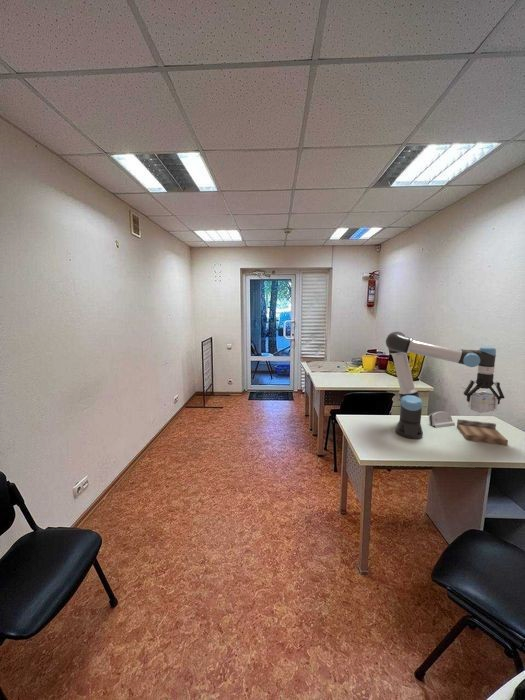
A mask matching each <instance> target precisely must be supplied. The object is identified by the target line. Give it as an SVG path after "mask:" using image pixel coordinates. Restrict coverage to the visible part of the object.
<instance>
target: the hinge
mask: <svg viewBox="0 0 525 700" xmlns="http://www.w3.org/2000/svg"><path fill="white" fill-rule="evenodd" d="M428 421H429V426H432V427H433V426H434V427H435V429H438V428H439V429H440V428H447V427H454V426H456V425H455V422H454V420H453V418H452V414H451V413H450V412H448V411H442V410H441V411H434V412H432V413H430V414H429V415H428Z"/></svg>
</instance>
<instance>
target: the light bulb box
mask: <svg viewBox="0 0 525 700" xmlns="http://www.w3.org/2000/svg"><path fill="white" fill-rule="evenodd" d="M471 397H472V401H471V408H469V409H470V410H471V411H473V412H476V413H479V414H481V413H490V412H495V409H494V406H495V398H496V396H495V395H494V394H493V393H492V392H491V391H485V390H483V391H476V392H475V393H473V394H472V395H471Z"/></svg>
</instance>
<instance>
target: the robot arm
mask: <svg viewBox="0 0 525 700" xmlns="http://www.w3.org/2000/svg"><path fill="white" fill-rule="evenodd" d="M385 346H386V347H387V350H388V354H389V355H391V356H392V359H393V365H394V368H395V373H396V377H397V381H398V385H399V388H400V390H399V391H398V395H399V399H400V409H399V421H398V422H397V424H396V427H395V432H396V434H397V435H398V436H401V437H403V438H406V439H411V440H412V439H414V440H418V439H422V438H423V436H424V433H423V427H422V424H421V423H422V422H421V421H422V413H423V412H422V411H423V410H422V409H423V405H424V404H423V400H422V398H421V397H420V393H419V390H418V389H417V388H416V387H415V384H414V383H415V382H414V379H413V375H412V370H411V367H410V366H411V365H410V362H409V359H408V358H409V357H408V353H412V354H416V355H420V356H424V357H430V358H434V359H438V360H443V361H447V362H451V363H456V364H460V365H464V366H466V367H469V368H475V367H477V372H476V373H477V374H476V380H472V379H470V380H469V384H468V385H467V387H466V388H465V390H464V392H463V393H462V394H463V395H464V396H465V397H466V402H468V403H467V407H468V408H469V409H470V408H471V401H472V397H471V395H472V394H473V393H475V392H478V390H480V389H487V390H490V392H491V393H493V394H494V395H495V406H494V411H497V410H498V405H500V403H501V400H504V399H505V398H506V397H505V395H504V393H503V391H502V389H501V383H500V381H494V376H495V375H494V373H495V365H496V357H497V349H496V348H495V347H493V346H480V347H479V349H464V348H463V349H456V348H451V347H447V346H446V347H445V346H442V345H437V344H432V343H428V342H422V341H417V340H414V339H413V338H412V337H408V336H406V335H405V334H404V333H403V332H401V331H392V332H391V333H389V334H388V335H387V336H386V339H385ZM475 384H476V385H475ZM474 385H475V386H474ZM473 386H474V387H473ZM492 386H495V388H496V390H497V392H498V393H497V392H496V390H494V388H493V387H492Z"/></svg>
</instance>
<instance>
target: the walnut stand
mask: <svg viewBox="0 0 525 700" xmlns="http://www.w3.org/2000/svg"><path fill="white" fill-rule="evenodd" d="M496 428H497V423H493V422H485V421H478V420H469V419H468V420H467V419H460V418H457V423H456V429H457V430H458V432H459V433H460V434H461V436H462V437H463V438H464V440H466V441H473V442H480V443H481V442H482V443H486V444H487V443H488V444H494V445H502V446H508V441H509V440H508V439H507V438H506V437H505V436H504V435H502V433H501V432H499V430H497V429H496Z"/></svg>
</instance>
